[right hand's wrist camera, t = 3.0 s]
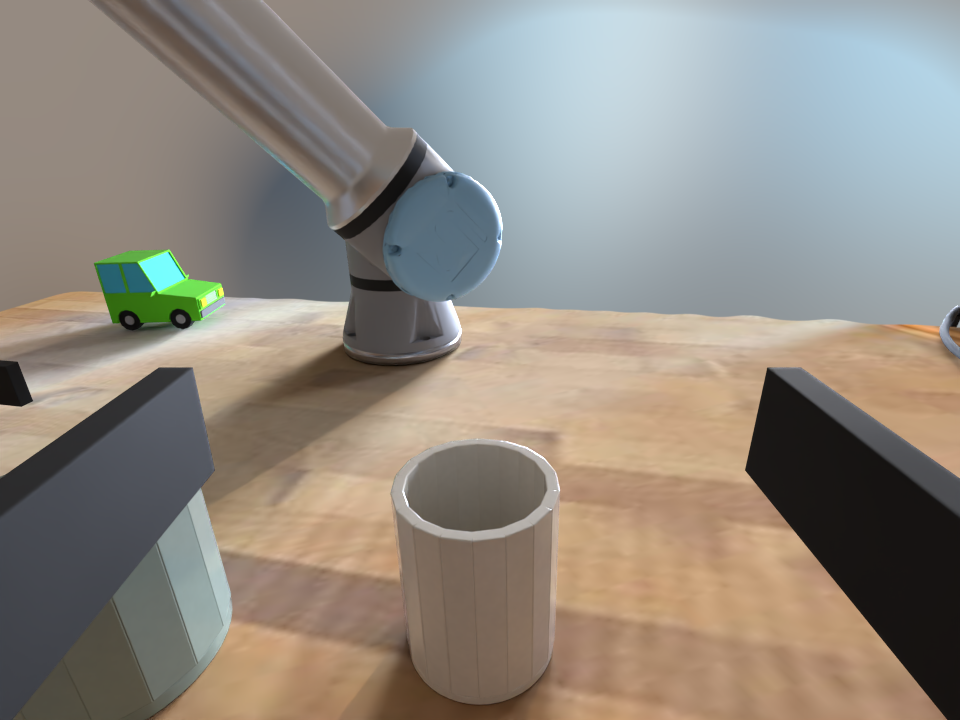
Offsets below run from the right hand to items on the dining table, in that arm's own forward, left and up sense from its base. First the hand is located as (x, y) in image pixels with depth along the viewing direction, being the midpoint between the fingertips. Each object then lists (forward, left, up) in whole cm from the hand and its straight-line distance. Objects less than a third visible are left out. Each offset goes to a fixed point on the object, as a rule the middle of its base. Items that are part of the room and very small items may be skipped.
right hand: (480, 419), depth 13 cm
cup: (-9, -6, -19) cm, 22 cm away
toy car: (-33, -75, -19) cm, 84 cm away
